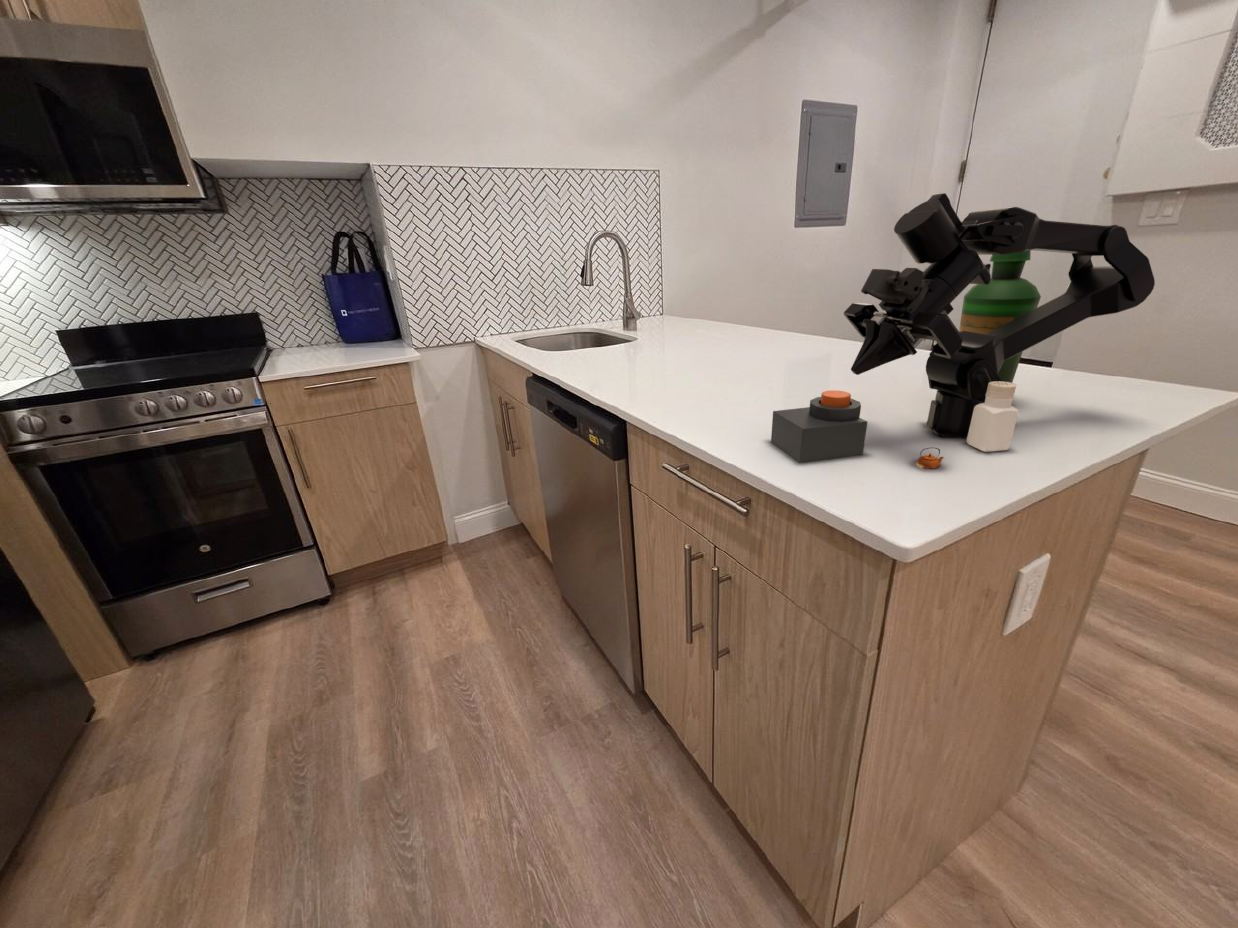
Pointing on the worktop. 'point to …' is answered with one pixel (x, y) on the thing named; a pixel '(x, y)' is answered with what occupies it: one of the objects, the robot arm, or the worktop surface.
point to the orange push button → (835, 398)
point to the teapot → (929, 461)
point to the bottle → (1000, 302)
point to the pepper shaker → (994, 418)
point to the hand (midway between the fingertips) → (853, 372)
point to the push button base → (819, 431)
